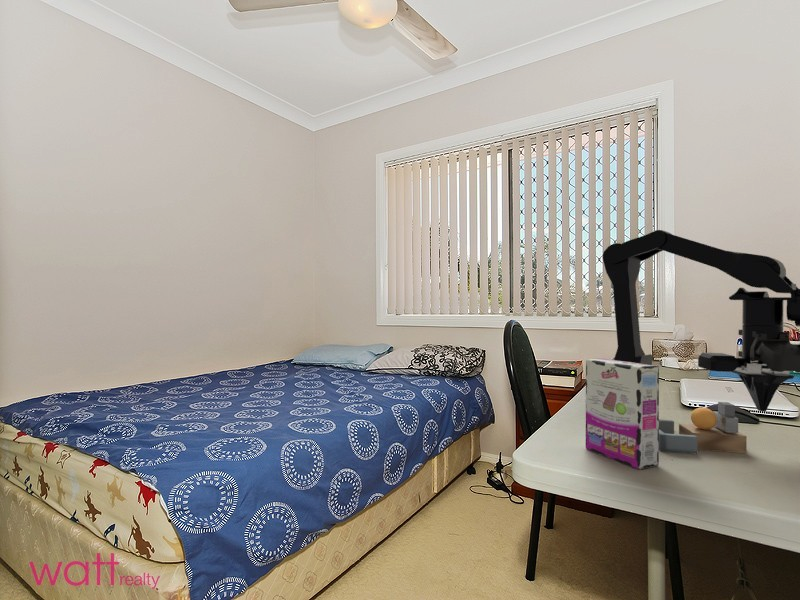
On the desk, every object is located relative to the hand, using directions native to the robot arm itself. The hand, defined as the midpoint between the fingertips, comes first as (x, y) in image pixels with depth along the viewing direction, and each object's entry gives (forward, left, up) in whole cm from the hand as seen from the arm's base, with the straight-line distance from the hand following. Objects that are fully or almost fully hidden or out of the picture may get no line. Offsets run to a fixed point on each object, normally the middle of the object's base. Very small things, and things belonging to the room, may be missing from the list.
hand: (761, 410), depth 79 cm
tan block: (-8, 0, -7) cm, 11 cm away
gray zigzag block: (-6, 0, -4) cm, 7 cm away
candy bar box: (-26, -10, -7) cm, 29 cm away
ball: (-9, 0, -2) cm, 10 cm away
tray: (-16, 0, -7) cm, 17 cm away
